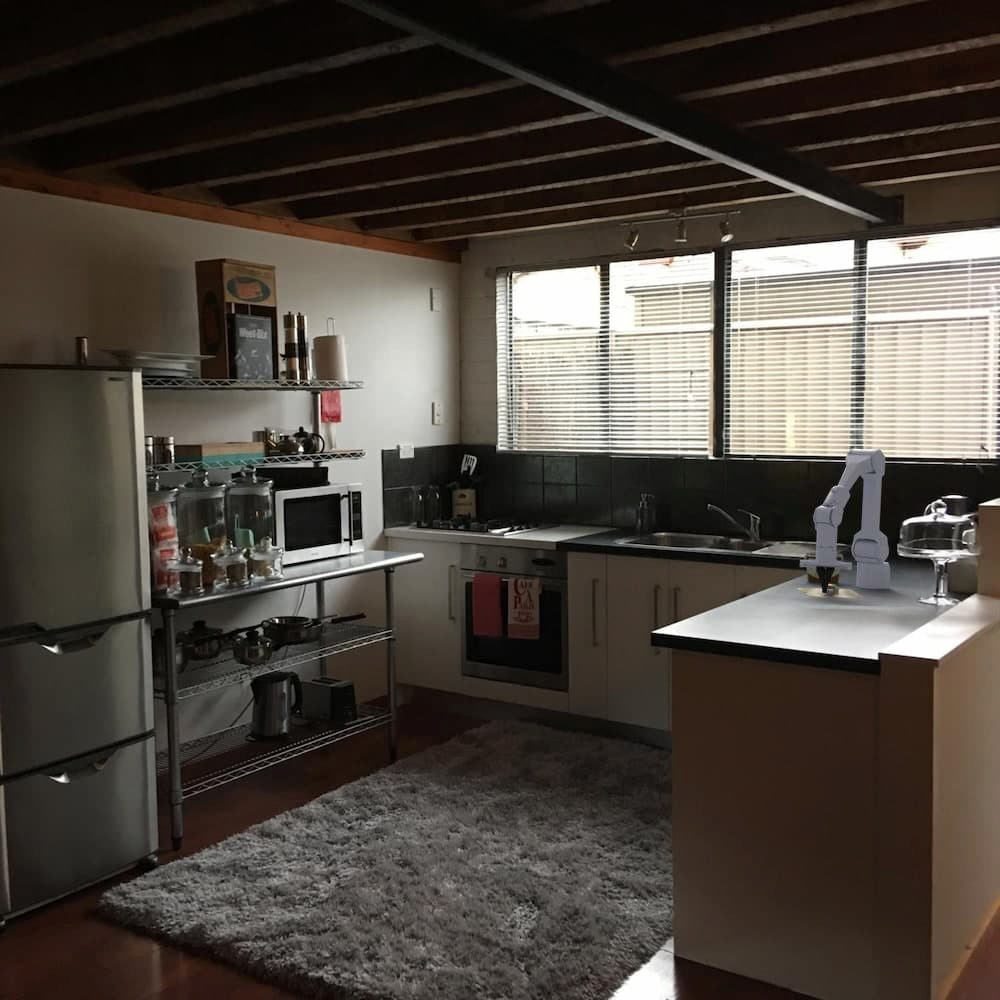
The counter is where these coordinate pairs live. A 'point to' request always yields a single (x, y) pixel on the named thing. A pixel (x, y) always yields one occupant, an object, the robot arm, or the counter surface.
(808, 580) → the food container
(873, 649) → the counter surface
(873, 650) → the counter surface
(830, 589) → the t key
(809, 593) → the plate
